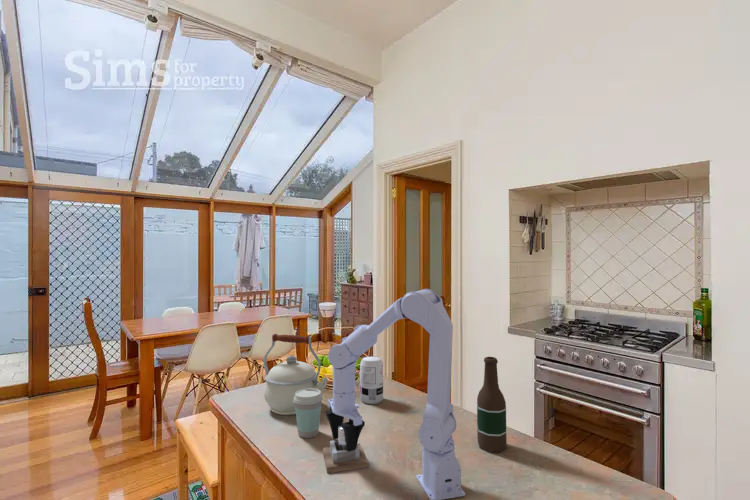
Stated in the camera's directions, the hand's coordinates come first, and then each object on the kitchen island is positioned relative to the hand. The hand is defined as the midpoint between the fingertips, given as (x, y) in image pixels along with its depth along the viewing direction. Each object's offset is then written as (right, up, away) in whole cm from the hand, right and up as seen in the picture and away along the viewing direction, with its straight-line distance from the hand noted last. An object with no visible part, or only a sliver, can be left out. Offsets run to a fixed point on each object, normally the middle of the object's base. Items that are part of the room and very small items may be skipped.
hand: (344, 443), depth 98 cm
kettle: (-20, -5, +34) cm, 40 cm away
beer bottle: (+40, -4, +6) cm, 40 cm away
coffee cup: (-12, -5, +15) cm, 19 cm away
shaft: (0, -3, 0) cm, 3 cm away
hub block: (0, -4, 0) cm, 4 cm away
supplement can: (+7, -5, +41) cm, 41 cm away
